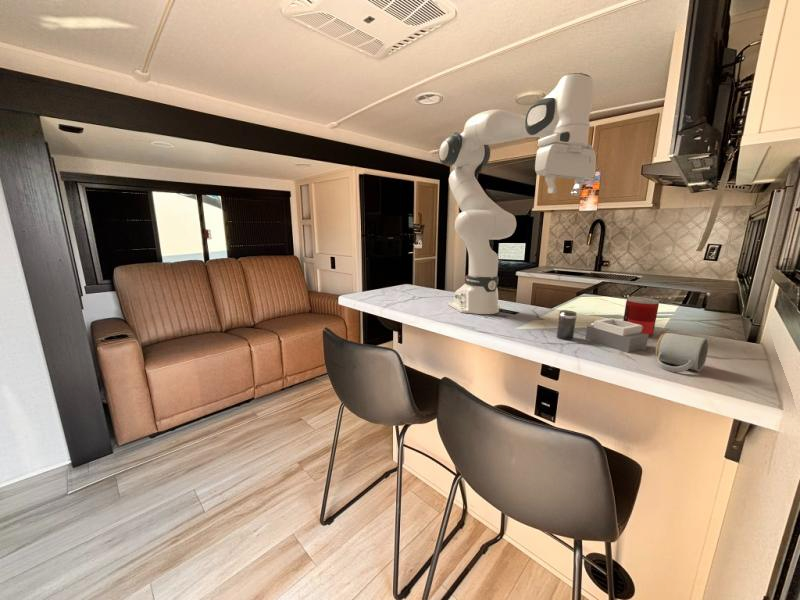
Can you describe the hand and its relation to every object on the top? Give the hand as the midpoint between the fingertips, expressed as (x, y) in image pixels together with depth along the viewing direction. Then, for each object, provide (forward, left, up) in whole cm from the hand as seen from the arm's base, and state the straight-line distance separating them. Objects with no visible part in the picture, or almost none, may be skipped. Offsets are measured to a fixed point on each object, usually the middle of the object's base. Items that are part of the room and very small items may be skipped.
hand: (563, 194), depth 88 cm
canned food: (+11, +27, -42) cm, 51 cm away
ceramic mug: (+30, +8, -42) cm, 52 cm away
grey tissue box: (+14, +11, -42) cm, 45 cm away
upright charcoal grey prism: (+5, +2, -42) cm, 42 cm away
